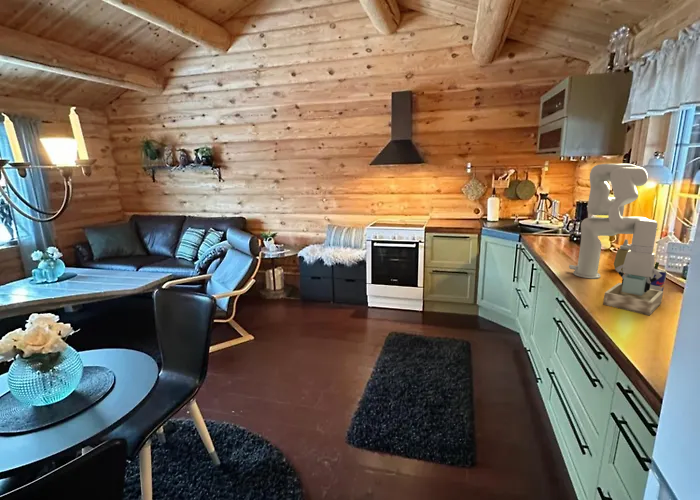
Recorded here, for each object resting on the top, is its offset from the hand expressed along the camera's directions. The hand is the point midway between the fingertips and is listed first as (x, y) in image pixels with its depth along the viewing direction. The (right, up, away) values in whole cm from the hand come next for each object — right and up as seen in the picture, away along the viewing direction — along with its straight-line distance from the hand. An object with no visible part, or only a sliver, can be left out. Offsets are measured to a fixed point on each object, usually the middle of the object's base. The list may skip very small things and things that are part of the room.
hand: (635, 289), depth 164 cm
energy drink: (+18, -5, +12) cm, 22 cm away
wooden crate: (0, -7, +2) cm, 7 cm away
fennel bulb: (+27, -1, +28) cm, 39 cm away
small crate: (0, -1, 0) cm, 1 cm away
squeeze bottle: (+30, +5, +51) cm, 59 cm away
